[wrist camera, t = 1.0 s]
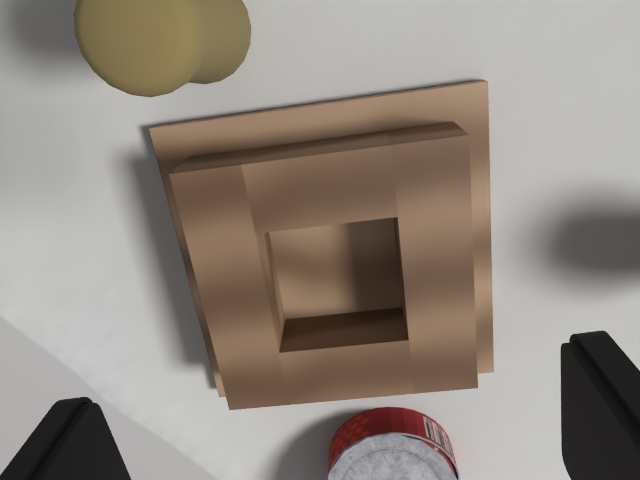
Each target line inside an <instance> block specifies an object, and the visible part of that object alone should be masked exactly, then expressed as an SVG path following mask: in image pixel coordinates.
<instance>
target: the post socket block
mask: <svg viewBox="0 0 640 480" xmlns="http://www.w3.org/2000/svg"><path fill="white" fill-rule="evenodd" d="M149 131H150V135H151V138H152V142H153V146H154V150H155V154H156V157H157V161H158V165H159V169H160V173H161V176H162V180H163V184H164V188H165V192H166V196H167V199H168V203H169V207H170V211H171V215H172V218H173V222H174V226H175V230H176V234H177V237H178V241H179V245H180V249H181V253H182V257H183V260H184V264H185V268H186V272H187V276H188V279H189V283H190V287H191V291H192V295H193V298H194V302H195V306H196V310H197V314H198V318H199V321H200V325H201V329H202V333H203V337H204V340H205V344H206V348H207V352H208V356H209V360H210V363H211V367H212V371H213V375H214V379H215V382H216V386H217V390H218V394H219V397H226V398H227V402H228V406H229V410H235V409H246V408H258V407H269V406H280V405H291V404H303V403H314V402H325V401H336V400H347V399H359V398H370V397H381V396H392V395H404V394H415V393H426V392H437V391H449V390H460V389H471V388H478V378H477V374H478V373H489V372H494V363H493V313H492V262H491V212H490V161H489V111H488V81H485V80H478V81H471V82H464V83H457V84H450V85H443V86H435V87H428V88H421V89H414V90H407V91H400V92H392V93H385V94H378V95H371V96H364V97H357V98H349V99H342V100H335V101H328V102H321V103H314V104H306V105H299V106H292V107H285V108H278V109H271V110H264V111H256V112H249V113H242V114H235V115H228V116H221V117H213V118H206V119H199V120H192V121H185V122H178V123H170V124H163V125H156V126H153V127H151V128H149Z"/></svg>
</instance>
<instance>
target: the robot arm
mask: <svg viewBox="0 0 640 480" xmlns="http://www.w3.org/2000/svg"><path fill="white" fill-rule="evenodd" d="M561 434H562V456H563V461H564V464H565V467H566V470H567V472H568V474H569V476H570V478H571V480H640V371H639V370H638V368H637V367H636V366H635V365H634V364H633V362H632V361H631V360H630V359H629V358H628V357H627V355H626V354H625V353H624V352H623V351H622V350H621V348H620V347H619V346H618V345H617V344H616V343H615V341H614V340H613V339H612V338H611V337H610V335H609V334H608V333H607V332H605V331H595V332H587V333H579V334H573V335H571V337H570V342H569V343H563V344H562V345H561ZM0 480H131V478H130V476H129V473H128V471H127V469H126V466H125V464H124V462H123V459H122V457H121V455H120V452H119V450H118V447H117V445H116V443H115V441H114V438H113V436H112V433H111V431H110V429H109V426H108V424H107V422H106V419H105V417H104V414H103V412H102V410H101V408H100V406H99V405H98V404H97V403H93V402H92V400H90V399H89V398H88V397H80V398H72V399H64V400H59V401H57V402H56V403H55V404H54V405H53V406H52V407H51V409H50V410H49V411H48V413H47V414H46V415H45V417H44V418H43V419H42V421H41V422H40V423H39V425H38V426H37V427H36V429H35V430H34V432H33V433H32V434H31V435H30V437H29V438H28V439H27V441H26V442H25V443H24V445H23V446H22V447H21V449H20V450H19V451H18V453H17V454H16V455H15V457H14V458H13V459H12V461H11V462H10V463H9V465H8V466H7V467H6V469H5V470H4V471H3V473H2V474H1V475H0Z"/></svg>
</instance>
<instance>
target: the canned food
mask: <svg viewBox="0 0 640 480" xmlns="http://www.w3.org/2000/svg"><path fill="white" fill-rule="evenodd" d="M327 480H460V478H459V472H458V469H457V465H456V462H455V458H454V454H453V450H452V446H451V443H450V440H449V437H448V435H447V434H446V432H445V431H444V429H443V428H442V427H441V426H440V425H439V424H438V423H437V422H436V421H435V420H433V419H431V418H430V417H428V416H427V415H425V414H422V413H420V412H417V411H415V410H411V409H406V408H400V407H384V408H376V409H372V410H368V411H365V412H363V413H360V414H358V415H356V416H354V417H353V418H351V419H350V420H348V421H347V422H345V423H344V424H343V425H342V426H341V427H340V428H339V430H338V431H337V432H336V434H335V436H334V437H333V439H332V442H331V445H330V448H329V473H328V479H327Z"/></svg>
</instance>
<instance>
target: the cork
mask: <svg viewBox="0 0 640 480" xmlns="http://www.w3.org/2000/svg"><path fill="white" fill-rule="evenodd" d="M74 22H75V35H76V38H77V41H78V44H79V47H80V50H81V52H82V55H83V56H84V58H85V59H86V61H87V62H88V64H89V65H90V67H91V68H92V70H93V71H94V72H95V73H96V74H97V75H98V76H99V77H101V78H102V79H103V80H104V81H105V82H107V83H108V84H109V85H110V86H112V87H115V88H117V89H119V90H121V91H124V92H126V93H128V94H131V95H137V96H145V97H154V96H159V95H164V94H168V93H171V92H173V91H175V90H176V89H178V88H180V87H181V86H183V85H184V84H186V83H188V82H192V83H201V84H208V83H213V82H218V81H221V80H223V79H225V78H226V77H228V76H230V75H231V74H233V73H234V72H235V71H236V70H237V68H238V67H239V66H240V65H241V64H242V62H243V61H244V59H245V57H246V54H247V51H248V49H249V46H250V36H251V25H250V21H249V16H248V12H247V9H246V7H245V5H244V4H243V2H242V0H77V4H76V8H75V12H74Z"/></svg>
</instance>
